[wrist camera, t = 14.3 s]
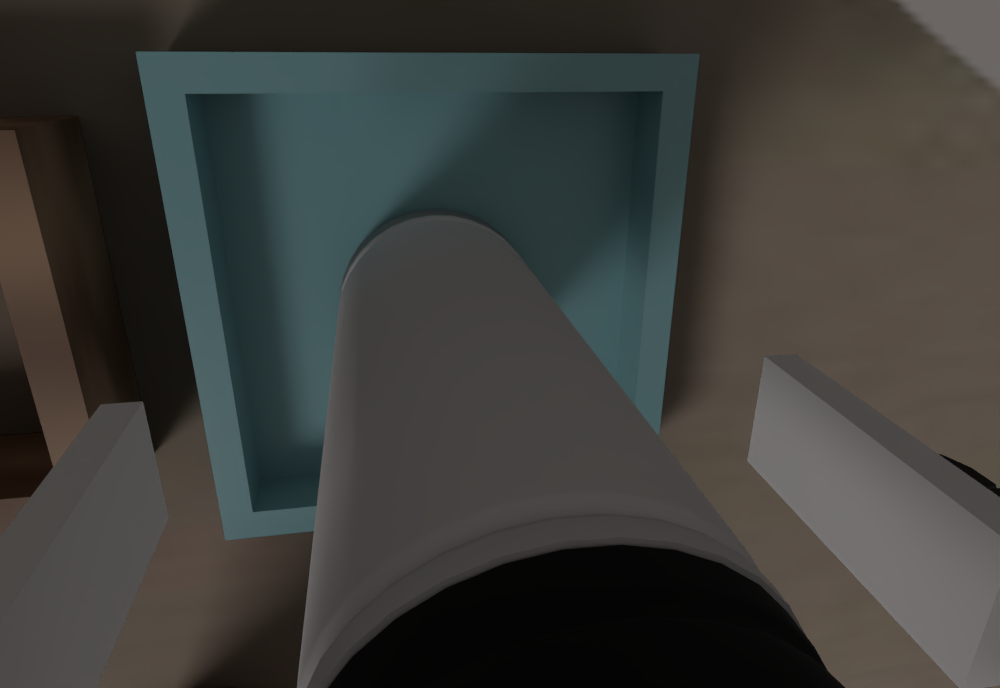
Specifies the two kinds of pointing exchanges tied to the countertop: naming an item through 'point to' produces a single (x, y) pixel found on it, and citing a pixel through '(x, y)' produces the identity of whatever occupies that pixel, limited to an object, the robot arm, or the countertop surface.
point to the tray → (392, 193)
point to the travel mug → (511, 499)
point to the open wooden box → (55, 297)
